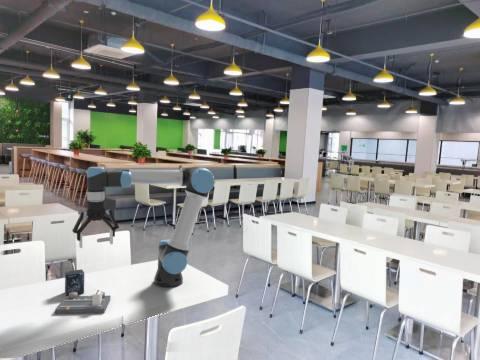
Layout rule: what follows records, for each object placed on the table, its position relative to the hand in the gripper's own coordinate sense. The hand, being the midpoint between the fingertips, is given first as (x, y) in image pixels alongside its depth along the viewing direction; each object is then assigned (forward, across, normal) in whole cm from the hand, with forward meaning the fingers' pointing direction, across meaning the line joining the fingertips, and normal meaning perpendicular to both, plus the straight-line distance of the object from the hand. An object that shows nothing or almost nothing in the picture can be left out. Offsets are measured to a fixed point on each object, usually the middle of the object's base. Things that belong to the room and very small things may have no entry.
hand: (96, 245), depth 174 cm
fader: (+23, +3, +12) cm, 26 cm away
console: (+25, +7, +7) cm, 27 cm away
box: (+25, +8, -11) cm, 29 cm away
